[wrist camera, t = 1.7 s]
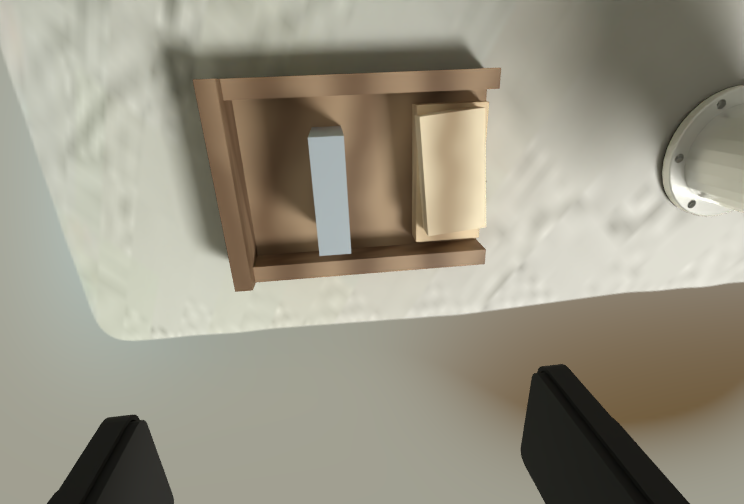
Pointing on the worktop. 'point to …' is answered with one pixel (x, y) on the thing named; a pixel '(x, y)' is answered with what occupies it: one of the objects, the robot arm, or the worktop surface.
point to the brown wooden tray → (293, 170)
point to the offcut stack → (448, 170)
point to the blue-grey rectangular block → (330, 189)
